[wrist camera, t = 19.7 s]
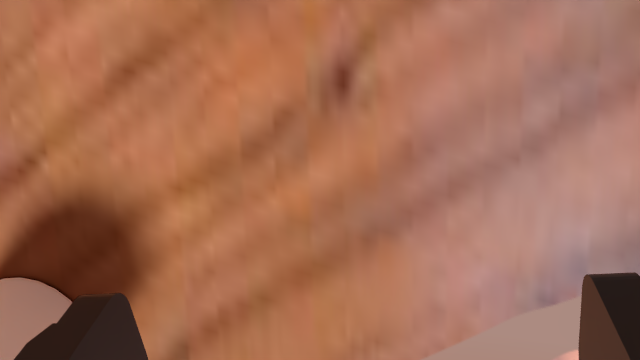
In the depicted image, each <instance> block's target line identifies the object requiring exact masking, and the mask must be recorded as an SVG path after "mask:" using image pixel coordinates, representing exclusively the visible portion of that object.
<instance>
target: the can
mask: <svg viewBox="0 0 640 360" xmlns="http://www.w3.org/2000/svg"><path fill="white" fill-rule="evenodd" d="M71 304H72V302H71V300H69V299H68V298H67V297H65V296H64V295H63V294H62V293H60V292H59V291H58V290H56V289H55V288H52V287H50V286H48V285H46V284H44V283H42V282H39V281H36V280H31V279H26V278H21V277H19V278H4V279H1V280H0V360H14V358H15V357H16V356H17V355H18V353H19V352H20V351H21V350H22V348H23V347H24V346H25V345H26V343H28V342H29V341H30V340H31V339H33V338H34V337H35V336H37V335H38V334H39V333H41V332H42V331H43V330H45V329H46V328H47V327H48V326H50V325H51V324H52V323H57V322H58V321H59V319H60V318H61V317H62V316H63V314H64V313H65V312H66V310H67V309H68V308H69V306H70V305H71Z"/></svg>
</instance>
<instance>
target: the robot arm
mask: <svg viewBox="0 0 640 360" xmlns="http://www.w3.org/2000/svg"><path fill="white" fill-rule="evenodd" d="M14 360H148V357H147V354H146V351H145V348H144V345H143V342H142V339H141V336H140V333H139V330H138V327H137V324H136V321H135V318H134V316H133V313H132V310H131V307H130V304H129V301H128V299H127V298H126V297H125V296H124V295H123V294H121V293H112V294H89V295H80V296H78V297H77V298H76V299H75V300H74V301H73V303H72V304H71V305H70V306H69V308H68V309H67V310H66V312H65V313H64V314H63V316H62V317H61V318H60V319H59V321H58V322H57V323H52V324H51V325H50V326H48V327H47V328H46V329H45V330H43V331H42V332H41V333H39V334H38V335H37V336H35V337H34V338H33V339H31V340H30V341H29V342H28V343H26V345H25V346H24V347H23V348H22V350H21V351H20V352H19V353H18V355H17V356H16V357H15V358H14ZM579 360H640V276H639V275H638V274H637V273H613V274H589V275H585V277H584V280H583V285H582V302H581V317H580V334H579Z"/></svg>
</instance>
